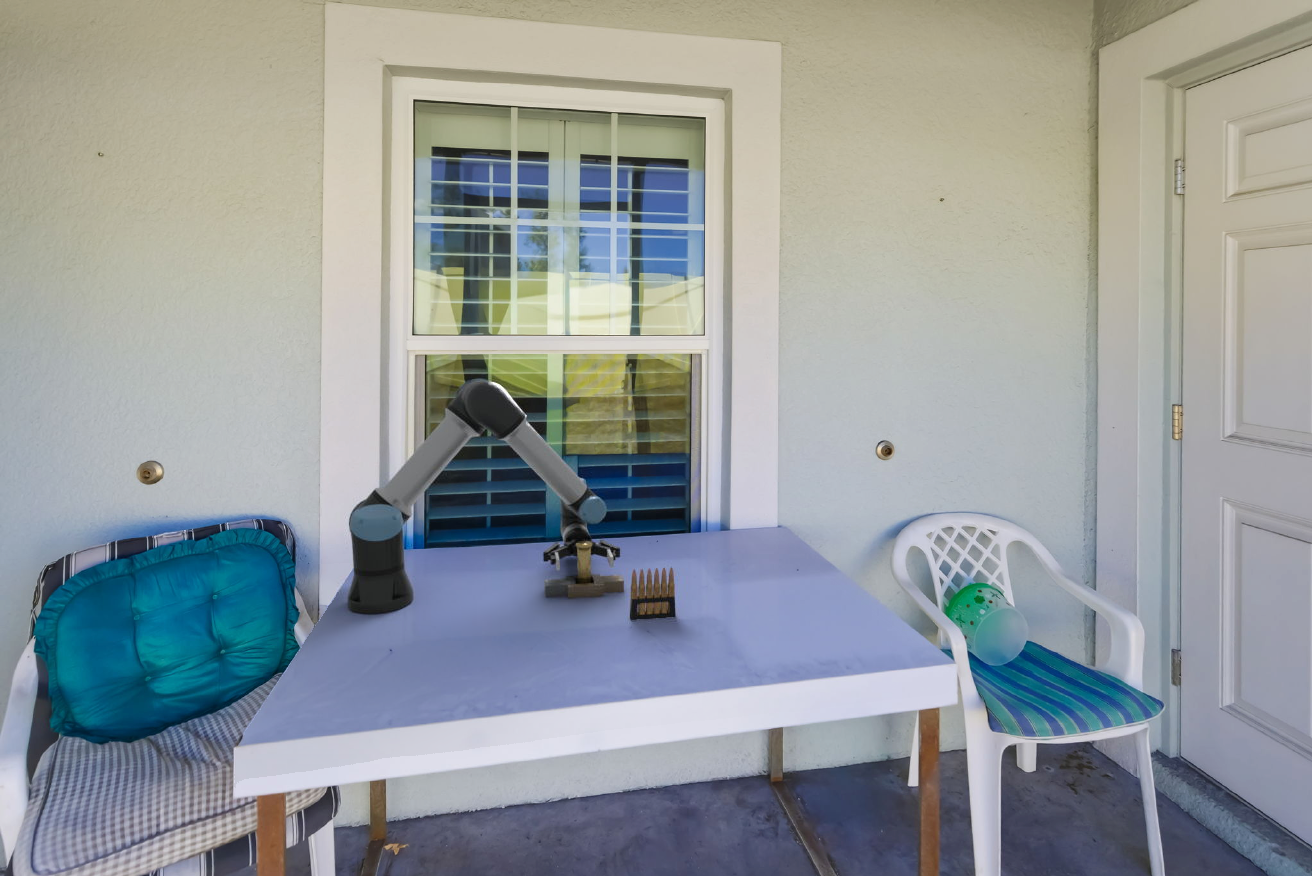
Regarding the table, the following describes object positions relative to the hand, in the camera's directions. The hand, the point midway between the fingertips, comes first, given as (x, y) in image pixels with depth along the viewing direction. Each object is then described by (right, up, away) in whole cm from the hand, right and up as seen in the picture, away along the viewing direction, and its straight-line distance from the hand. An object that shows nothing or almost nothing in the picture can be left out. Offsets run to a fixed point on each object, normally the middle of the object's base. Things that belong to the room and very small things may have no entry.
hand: (585, 563), depth 176 cm
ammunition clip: (+17, -11, -12) cm, 24 cm away
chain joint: (-1, -8, +4) cm, 9 cm away
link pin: (-1, -8, +4) cm, 9 cm away
